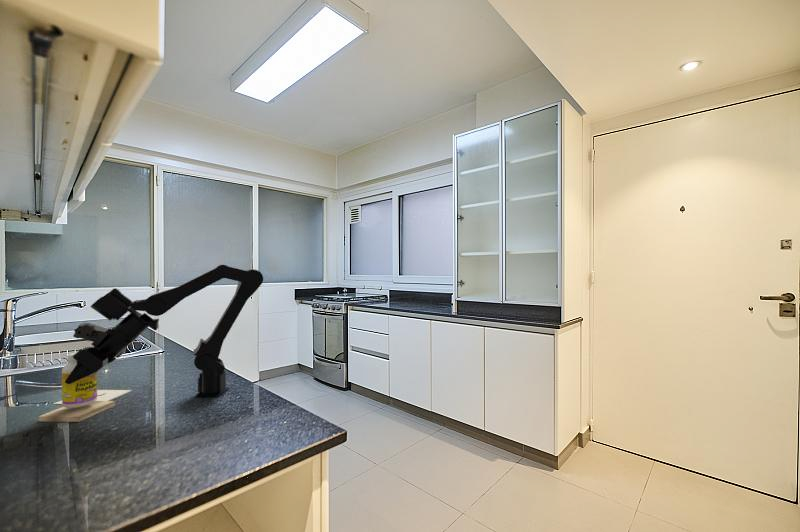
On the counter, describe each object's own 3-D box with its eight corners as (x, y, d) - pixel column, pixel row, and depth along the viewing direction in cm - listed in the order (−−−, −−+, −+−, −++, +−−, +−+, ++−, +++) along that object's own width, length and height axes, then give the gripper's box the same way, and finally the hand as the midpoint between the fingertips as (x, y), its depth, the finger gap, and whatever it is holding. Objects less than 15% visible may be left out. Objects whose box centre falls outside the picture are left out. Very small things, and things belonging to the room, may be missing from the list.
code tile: (132, 390, 105) (132, 389, 105) (99, 404, 94) (99, 403, 94) (90, 390, 106) (90, 389, 106) (53, 404, 95) (53, 403, 95)
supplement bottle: (72, 410, 85) (71, 358, 85) (55, 406, 87) (54, 355, 87) (103, 400, 91) (103, 351, 91) (87, 396, 93) (86, 348, 93)
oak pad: (114, 405, 94) (114, 401, 94) (79, 421, 84) (79, 416, 84) (78, 405, 94) (78, 400, 94) (38, 421, 84) (38, 416, 84)
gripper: (112, 308, 99) (61, 351, 95) (83, 315, 82) (20, 368, 78) (145, 333, 102) (98, 376, 98) (125, 346, 85) (66, 398, 81)
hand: (73, 378), depth 88 cm, fingers closed on supplement bottle, 7 cm apart
